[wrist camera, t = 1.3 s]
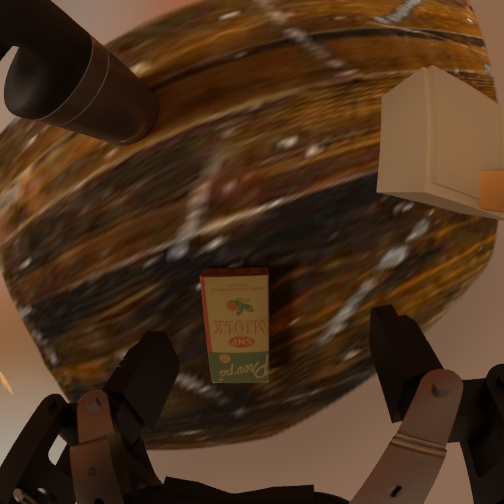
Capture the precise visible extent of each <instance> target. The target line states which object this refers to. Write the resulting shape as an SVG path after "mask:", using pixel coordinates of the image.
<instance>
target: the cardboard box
mask: <svg viewBox="0 0 504 504" xmlns="http://www.w3.org/2000/svg"><path fill="white" fill-rule="evenodd" d="M432 144H433V129H432V102H431V89H430V79H429V70H428V69H427V68H425V67H422V68H421V69H419V70H418V71H416V72H415V73H414V74H412V75H411V76H409V77H408V78H407V79H405V80H404V81H402V82H401V83H400V84H398V85H397V86H396V87H394V88H393V89H392V90H390V91H389V92H388V93H386V94H385V95H384V96H382V110H381V142H380V159H379V171H378V182H377V192H378V193H382V194H387V195H391V196H396V197H400V198H404V199H409V200H413V201H417V202H421V203H424V204H428V205H432V206H436V207H439V208H443V209H447V210H450V211H454V212H457V213H462V214H469V215H475V216H482V217H488V218H494V219H500V220H504V213H501V212H494V211H486V210H483V209H480V208H479V202H480V200H478V199H475V198H473V197H470V196H467V195H465V194H462V193H459V192H456V191H453V190H450V189H447V188H444V187H441V186H438V185H435V184H432V183H431V171H432Z"/></svg>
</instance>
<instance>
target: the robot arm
mask: <svg viewBox="0 0 504 504" xmlns="http://www.w3.org/2000/svg"><path fill="white" fill-rule="evenodd" d="M12 46H17V47H19V49H18V50H17V53H16V55H15V57H14V59H13V61H12V64H11V65H10V68H9V71H8V74H7V77H6V81H5V87H4V100H5V104H6V107H7V108H8V110H9V111H10V112H11V113H12V114H14V115H16V116H19V117H22V118H26V119H30V120H34V121H38V122H42V123H45V124H49V125H53V126H57V127H60V128H64V129H67V130H71V131H74V132H77V133H81V134H84V135H87V136H91V137H94V138H97V139H100V140H103V141H106V142H109V143H112V144H115V145H121V146H122V145H129V144H132V143H135V142H136V141H138V140H140V139H141V138H143V137H144V136H145V135H146V134H147V133H148V132H149V131H150V129H151V128H152V126H153V125H154V123H155V120H156V118H157V114H158V101H157V97H156V95H155V94H154V92H153V91H152V90H151V89H150V88H149V87H148V86H147V85H146V84H145V83H144V82H143V81H142V80H140V79H139V78H138V77H137V76H136V75H135V74H134V73H133V72H132V71H131V70H130V69H129V68H128V67H126V66H125V65H124V64H123V63H122V62H121V61H120V60H119V59H118V58H117V57H115V56H114V55H113V54H112V53H111V52H110V51H109V50H108V49H106V48H105V47H104V46H103V45H102V44H101V43H99V42H98V41H97V40H96V39H95V38H94V37H92V36H91V35H90V34H89V33H88V32H87V31H86V30H84V29H83V28H82V27H81V26H80V25H78V24H77V23H76V22H75V21H74V20H73V19H72V18H71V17H69V16H68V15H67V14H66V13H65V12H64V11H63V10H61V9H60V8H59V7H58V6H57V5H55V4H54V3H53V2H52V1H51V0H0V61H1V59H2V58H3V57H4V56H5V54H6V53H7V52H8V51H9V49H10V48H11V47H12ZM369 343H370V352H371V356H372V359H373V362H374V365H375V368H376V371H377V374H378V377H379V380H380V384H381V387H382V390H383V394H384V396H385V400H386V403H387V407H388V410H389V414H390V417H391V421H392V423H395V422H399V421H402V424H401V426H400V427H399V430H398V431H397V433H396V435H395V436H394V437H393V438H392V440H391V441H390V443H389V445H388V446H387V448H386V450H385V452H384V453H383V455H382V456H381V458H380V460H379V461H378V463H377V465H376V466H375V468H374V469H373V471H372V472H371V474H370V475H369V477H368V478H367V480H366V481H365V483H364V484H363V486H362V487H361V488H360V490H359V491H358V492H357V494H356V495H355V496H354V498H353V499H352V500H351V502H350V501H348V500H346V499H343V498H341V497H338V496H335V495H331V494H327V493H322V492H314V485H302V486H283V487H270V488H265V489H261V490H256V491H249V492H243V493H236V494H233V493H228V492H225V491H222V490H219V489H216V488H213V487H210V486H208V485H205V484H202V483H199V482H195V481H189V480H183V479H177V478H172V477H167V476H166V478H165V481H164V484H162V482H161V481H160V480H159V479H158V477H157V476H156V474H155V472H154V470H153V468H152V465H151V462H150V460H149V457H148V455H147V452H146V449H145V446H144V443H143V440H142V438H141V437H140V435H139V434H140V432H141V430H143V431H148V432H153V430H154V428H155V425H156V423H157V421H158V418H159V416H160V414H161V412H162V409H163V407H164V405H165V402H166V400H167V398H168V395H169V393H170V391H171V389H172V386H173V384H174V382H175V380H176V377H177V375H178V373H179V360H178V357H177V355H176V353H175V351H174V349H173V347H172V345H171V342H170V340H169V338H168V336H167V334H166V333H165V332H164V331H147V332H146V333H145V334H144V335H143V337H142V338H141V340H140V341H139V342H138V343H137V344H136V345H135V346H133V347H132V348H131V349H130V350H128V352H127V353H126V355H125V356H124V358H123V360H122V361H121V362H120V364H119V365H118V367H117V368H116V369H115V371H114V372H113V374H112V375H111V377H110V378H109V380H108V381H107V383H106V384H105V386H104V387H103V389H102V390H94V391H91V392H88V393H87V394H85V395H84V396H83V397H82V398H81V399H80V400H79V402H78V403H67V402H66V401H65V400H64V398H63V397H62V396H61V395H60V394H51V395H49V396H47V397H46V398H44V400H42V402H41V403H40V405H39V406H38V407H37V409H36V410H35V412H34V413H33V415H32V416H31V418H30V419H29V421H28V422H27V424H26V426H25V427H24V429H23V430H22V432H21V433H20V435H19V436H18V438H17V440H16V441H15V443H14V444H13V446H12V448H11V450H10V451H9V453H8V455H7V456H6V458H5V460H4V462H3V463H2V465H1V467H0V504H75V503H76V502H77V504H423V503H424V501H425V499H426V497H427V495H428V493H429V491H430V490H431V488H432V486H433V484H434V481H435V479H436V477H437V475H438V473H439V471H440V468H441V466H442V464H443V461H444V459H445V456H446V452H447V450H445V447H446V444H447V443H451V442H460V445H461V448H462V452H463V456H464V459H465V463H466V467H467V471H468V476H469V480H470V485H471V490H472V495H473V501H474V504H504V364H499V365H496V366H494V367H493V368H491V369H490V370H489V372H488V374H487V376H486V378H482V379H472V380H461V378H460V377H459V376H458V375H457V374H456V373H455V372H453V371H451V370H446V369H444V368H443V367H442V365H441V363H440V361H439V360H438V358H437V356H436V354H435V353H434V351H433V349H432V348H431V346H430V344H429V343H428V341H427V340H426V338H425V336H424V334H423V333H422V332H421V329H420V328H419V326H418V325H417V323H416V322H415V321H414V320H413V319H411V318H410V317H408V316H407V315H403V316H398V315H397V313H396V311H395V309H394V308H393V306H392V305H391V304H390V305H385V306H380V307H375V308H372V309H371V316H370V340H369ZM58 434H59V435H60V437H62V438H63V440H65V441H66V442H67V445H66V446H65V449H64V450H63V452H62V454H61V456H60V458H59V460H58V462H57V464H56V466H55V465H54V464H52V462H51V461H50V460H49V457H48V452H49V450H50V448H51V446H52V444H53V443H54V441H55V439H56V437H57V436H58Z"/></svg>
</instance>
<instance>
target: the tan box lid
mask: <svg viewBox="0 0 504 504" xmlns="http://www.w3.org/2000/svg"><path fill="white" fill-rule="evenodd" d="M428 70H429V79H430V89H431V102H432V129H433V144H432V171H431V183H432V184H435V185H438V186H441V187H444V188H447V189H450V190H453V191H456V192H459V193H462V194H465V195H467V196H470V197H473V198H475V199H478V200H480V202H479V208H480V209H483V210H486V211H494V212H501V213H504V108H503V107H501V106H500V105H498V104H497V103H496V102H494V101H493V100H491V99H490V98H488V97H487V96H485V95H484V94H482V93H481V92H479V91H478V90H476V89H475V88H473V87H471V86H470V85H468V84H466V83H465V82H463V81H461V80H460V79H458V78H456V77H454V76H452V75H451V74H449V73H447V72H445V71H443V70H441V69H439V68H437V67H435V66H433V65H431V66H430V67H428Z"/></svg>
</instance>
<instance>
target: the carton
mask: <svg viewBox="0 0 504 504" xmlns="http://www.w3.org/2000/svg"><path fill="white" fill-rule="evenodd" d="M200 283H201V292H202V302H203V312H204V322H205V331H206V340H207V349H208V357H209V365H210V373H211V379H212V382H213V383H266V382H269V272H268V267H242V268H206V269H205V270H204V271H203V273H202V274H201V276H200Z"/></svg>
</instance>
